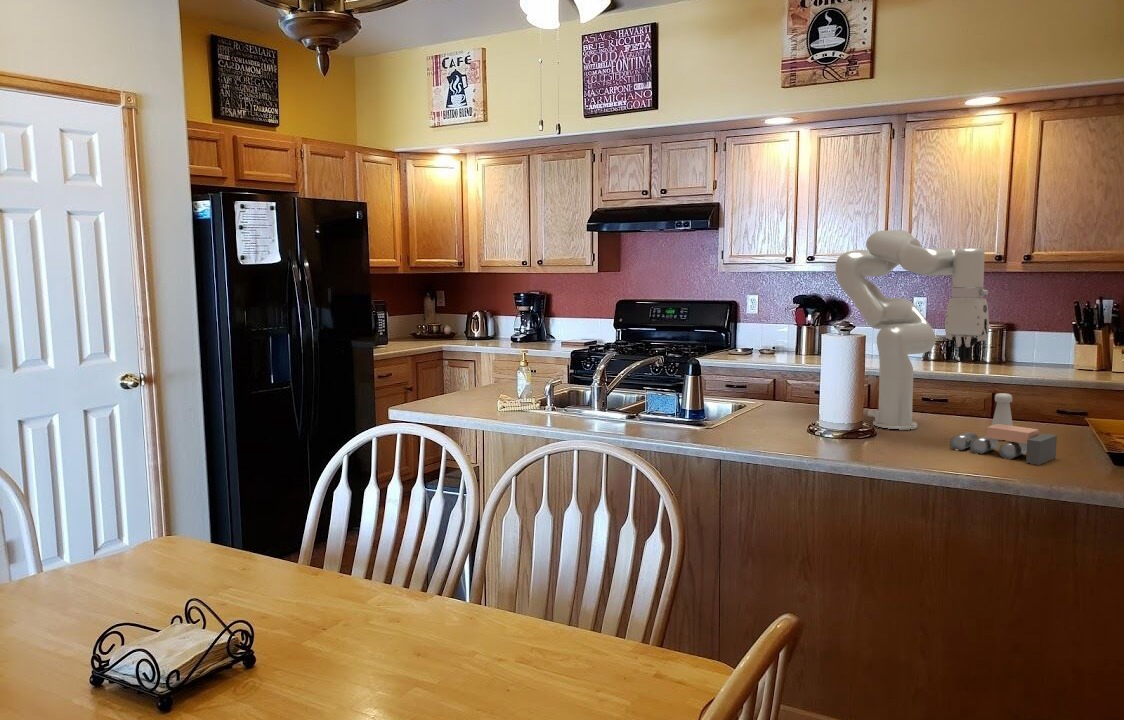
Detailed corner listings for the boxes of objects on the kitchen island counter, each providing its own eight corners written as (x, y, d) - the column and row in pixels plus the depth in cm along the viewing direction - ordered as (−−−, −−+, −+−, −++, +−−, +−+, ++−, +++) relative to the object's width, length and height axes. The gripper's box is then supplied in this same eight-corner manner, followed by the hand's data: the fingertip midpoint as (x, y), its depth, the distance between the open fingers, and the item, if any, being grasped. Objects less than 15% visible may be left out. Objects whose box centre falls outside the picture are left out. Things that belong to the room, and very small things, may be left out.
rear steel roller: (948, 447, 211) (951, 434, 210) (961, 443, 215) (964, 429, 214) (962, 453, 208) (966, 439, 207) (975, 448, 213) (979, 434, 211)
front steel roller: (967, 449, 207) (973, 436, 205) (980, 445, 211) (986, 432, 210) (982, 457, 204) (987, 443, 203) (994, 452, 209) (1000, 439, 207)
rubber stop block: (1026, 463, 195) (1027, 439, 194) (1042, 456, 201) (1043, 433, 200) (1039, 465, 192) (1040, 441, 191) (1055, 458, 198) (1056, 435, 198)
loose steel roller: (996, 454, 201) (1002, 441, 200) (1009, 450, 206) (1014, 436, 204) (1012, 462, 198) (1018, 448, 197) (1024, 457, 203) (1030, 443, 202)
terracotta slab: (986, 437, 203) (987, 427, 203) (996, 434, 207) (997, 423, 207) (1028, 443, 196) (1028, 433, 195) (1038, 440, 199) (1038, 429, 199)
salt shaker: (1001, 442, 217) (1003, 396, 216) (985, 437, 223) (986, 392, 221) (1018, 440, 219) (1020, 394, 217) (1001, 436, 224) (1003, 391, 223)
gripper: (1002, 293, 208) (999, 362, 210) (946, 293, 220) (944, 357, 222) (989, 295, 204) (986, 364, 206) (933, 294, 215) (931, 360, 218)
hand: (964, 360), depth 214 cm, fingers closed
